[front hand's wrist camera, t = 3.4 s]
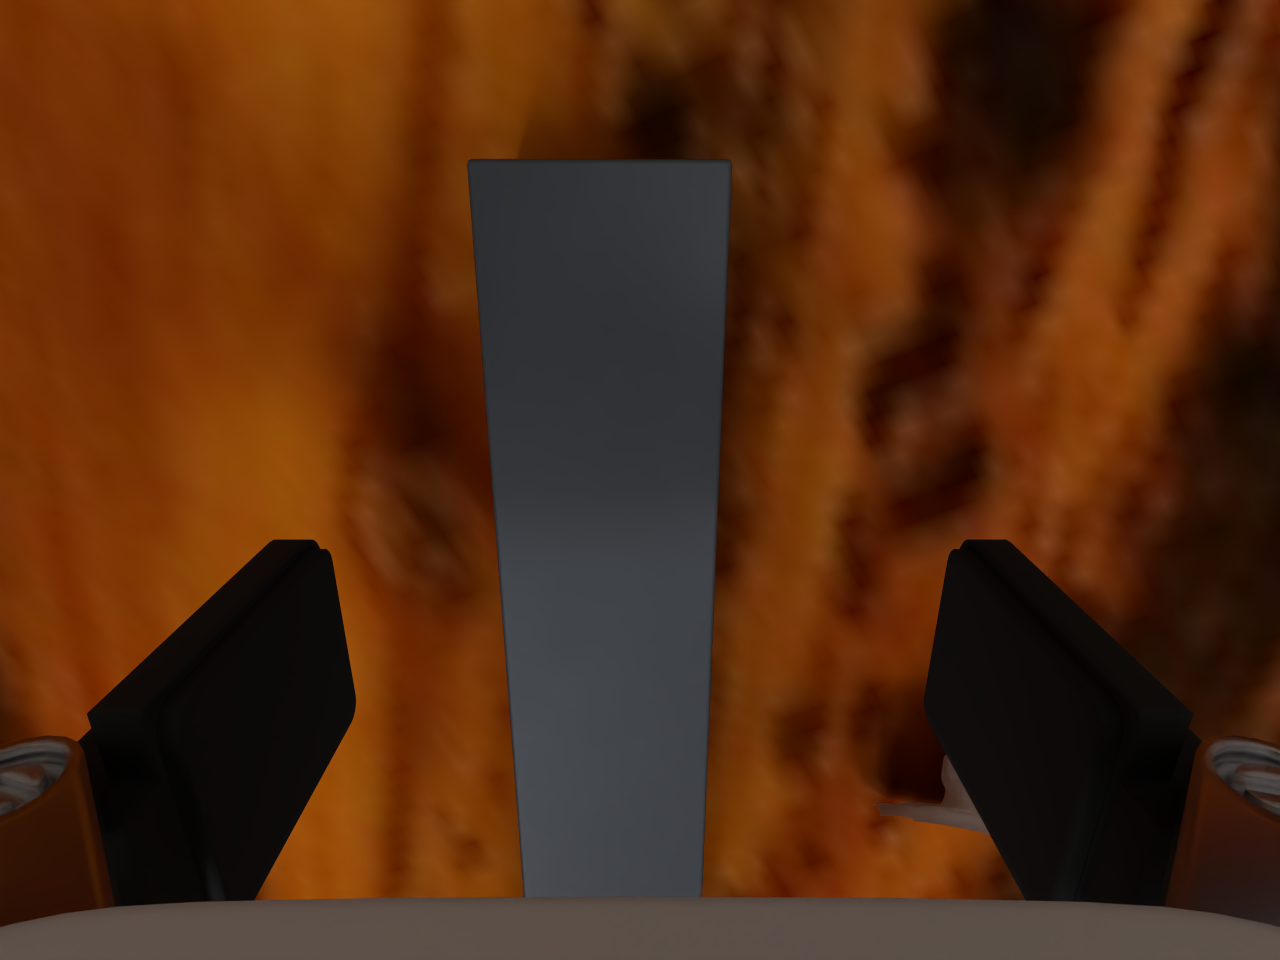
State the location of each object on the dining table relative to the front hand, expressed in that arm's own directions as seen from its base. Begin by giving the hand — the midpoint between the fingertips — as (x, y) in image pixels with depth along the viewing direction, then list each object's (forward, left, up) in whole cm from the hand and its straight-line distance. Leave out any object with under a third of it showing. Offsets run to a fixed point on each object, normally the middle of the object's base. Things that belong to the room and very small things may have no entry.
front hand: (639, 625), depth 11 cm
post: (+24, -12, -11) cm, 29 cm away
